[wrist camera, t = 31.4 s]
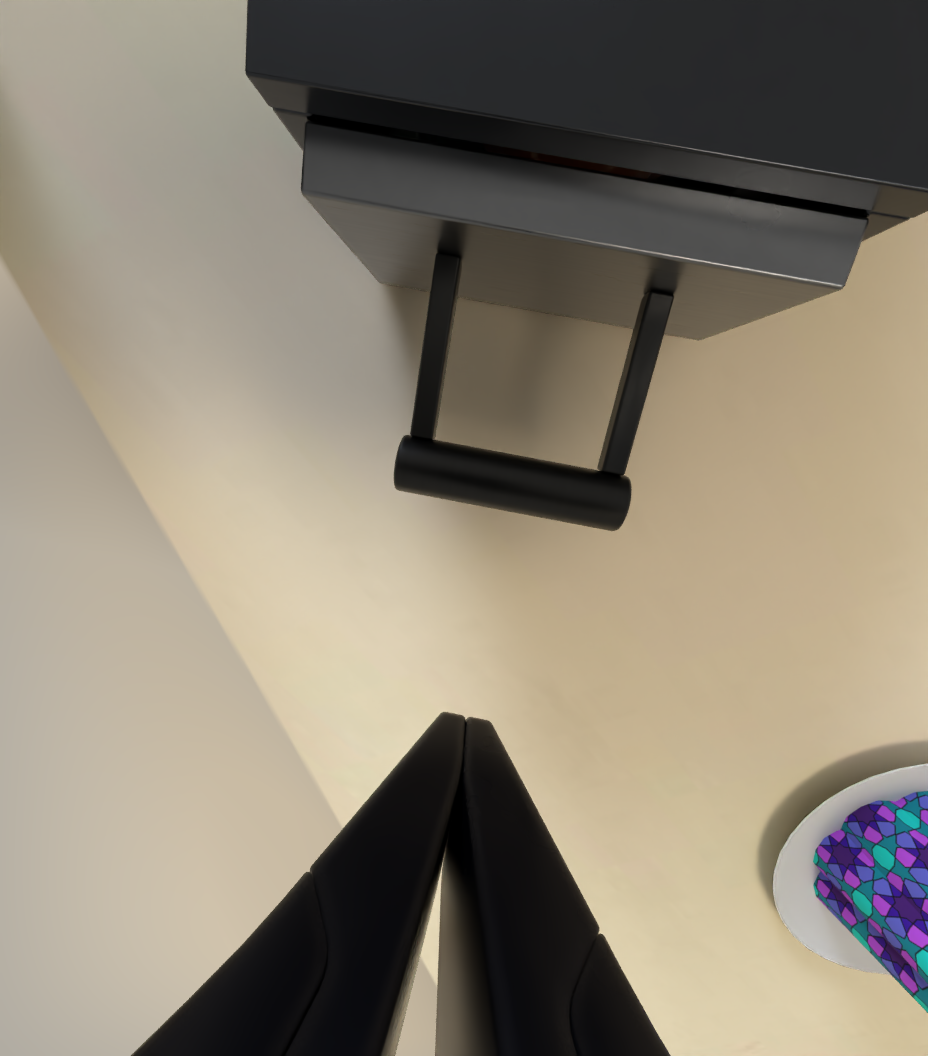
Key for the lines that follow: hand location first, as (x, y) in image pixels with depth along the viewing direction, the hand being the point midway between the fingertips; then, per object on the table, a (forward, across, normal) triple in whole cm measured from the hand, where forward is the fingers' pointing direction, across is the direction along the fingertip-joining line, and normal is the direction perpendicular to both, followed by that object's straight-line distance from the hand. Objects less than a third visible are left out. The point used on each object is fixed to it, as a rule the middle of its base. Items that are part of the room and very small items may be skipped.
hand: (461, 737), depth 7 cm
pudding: (+10, -21, +10) cm, 26 cm away
